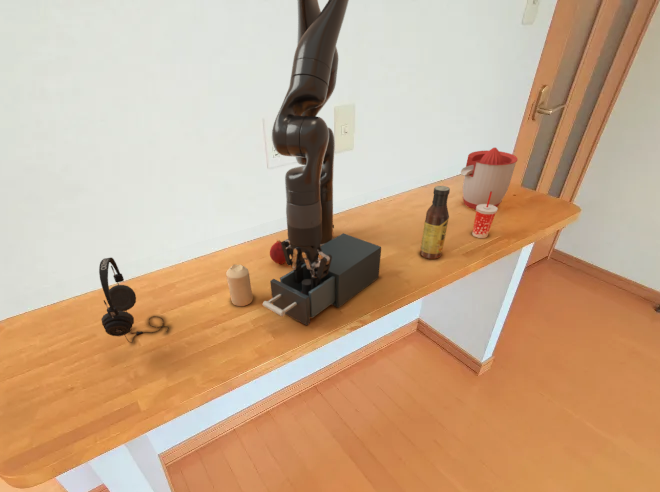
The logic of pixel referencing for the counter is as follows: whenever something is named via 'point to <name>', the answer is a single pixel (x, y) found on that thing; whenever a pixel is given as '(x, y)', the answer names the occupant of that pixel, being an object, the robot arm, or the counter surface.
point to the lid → (306, 286)
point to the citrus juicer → (487, 177)
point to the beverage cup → (483, 219)
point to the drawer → (301, 296)
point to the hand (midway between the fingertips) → (307, 285)
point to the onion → (277, 253)
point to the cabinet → (352, 265)
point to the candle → (239, 285)
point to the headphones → (117, 302)
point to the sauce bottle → (435, 224)
